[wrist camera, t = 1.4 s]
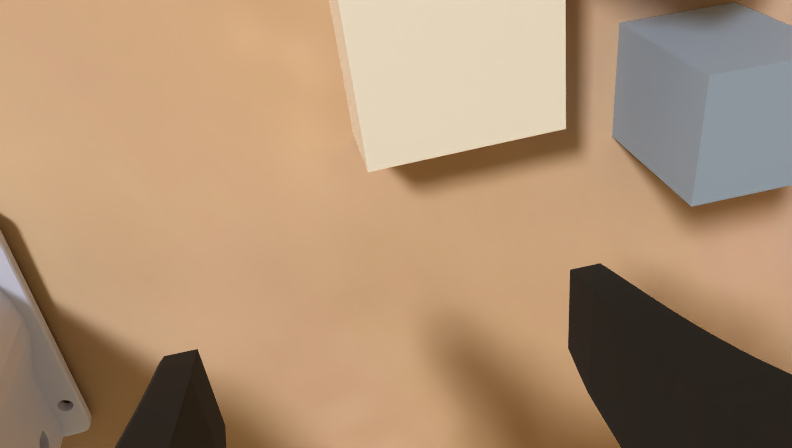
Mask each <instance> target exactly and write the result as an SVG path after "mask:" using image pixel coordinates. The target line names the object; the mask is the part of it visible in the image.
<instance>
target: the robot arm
mask: <svg viewBox="0 0 792 448" xmlns="http://www.w3.org/2000/svg"><path fill="white" fill-rule="evenodd" d="M568 349H569V351H570V353H571V356H572V358H573V360H574V362H575V365H576V367H577V369H578V372H579V374H580V376H581V378H582V380H583V383H584V385H585V387H586V389H587V391H588V393H589V395H590V397H591V398H592V400H593V402H594V403H595V405H596V407H597V408H598V410H599V412H600V413H601V415H602V417H603V418H604V420H605V422H606V423H607V425H608V427H609V428H610V430H611V431H612V433H613V435H614V436H615V438H616V440H617V441H618V443H619V444H620V446H621V448H792V375H791V374H789V373H787V372H785V371H783V370H781V369H778V368H776V367H774V366H772V365H770V364H768V363H766V362H763V361H761V360H759V359H757V358H755V357H753V356H751V355H749V354H747V353H745V352H743V351H741V350H739V349H738V348H736V347H734V346H732V345H730V344H728V343H727V342H725V341H723V340H721V339H719V338H718V337H716V336H714V335H712V334H710V333H709V332H707V331H705V330H703V329H702V328H700V327H698V326H697V325H695V324H693V323H692V322H690V321H688V320H687V319H685V318H683V317H682V316H680V315H679V314H677V313H675V312H674V311H672V310H671V309H669V308H667V307H666V306H664V305H663V304H661V303H660V302H658V301H656V300H655V299H653V298H652V297H650V296H649V295H647V294H646V293H644V292H643V291H641V290H640V289H638V288H637V287H635V286H634V285H632V284H631V283H629V282H628V281H626V280H625V279H623V278H622V277H620V276H619V275H617V274H616V273H614V272H613V271H611V270H610V269H608V268H607V267H605V266H603V265H602V264H595V265H591V266H586V267H581V268H576V269H572V270H570V300H569V338H568ZM62 400H68V401H71V403H65V402H62ZM91 420H92V417H91V413H90V411H89V409H88V407H87V405H86V403H85V401H84V399H83V397H82V395H81V393H80V391H79V389H78V387H77V385H76V383H75V381H74V379H73V377H72V375H71V373H70V371H69V369H68V367H67V365H66V362H65V360H64V358H63V356H62V354H61V352H60V350H59V348H58V346H57V344H56V342H55V340H54V338H53V336H52V334H51V332H50V330H49V328H48V326H47V324H46V322H45V320H44V318H43V316H42V314H41V312H40V310H39V308H38V305H37V303H36V301H35V299H34V297H33V295H32V293H31V291H30V289H29V287H28V285H27V283H26V281H25V279H24V277H23V275H22V273H21V271H20V269H19V267H18V265H17V263H16V261H15V259H14V257H13V255H12V253H11V250H10V248H9V246H8V244H7V242H6V240H5V238H4V236H3V234H2V232H1V230H0V448H61V445H62V441H63V437H67V436H71V435H75V434H80V433H83V432H85V431H87V430H88V429H89V427H90V425H91ZM115 448H226V435H225V424H224V421H223V418H222V416H221V413H220V410H219V407H218V405H217V402H216V399H215V396H214V393H213V391H212V388H211V385H210V382H209V380H208V377H207V374H206V371H205V369H204V366H203V363H202V360H201V358H200V355H199V352H198V349H196V350H191V351H187V352H182V353H177V354H173V355H168V356H164V357H163V359H162V360H161V361H160V363H159V365H158V367H157V369H156V371H155V373H154V375H153V377H152V379H151V381H150V383H149V385H148V387H147V389H146V391H145V393H144V395H143V397H142V399H141V401H140V403H139V405H138V407H137V409H136V411H135V412H134V414H133V416H132V418H131V420H130V422H129V423H128V425H127V427H126V429H125V431H124V432H123V434H122V436H121V438H120V439H119V441H118V443H117V445H116V447H115Z"/></svg>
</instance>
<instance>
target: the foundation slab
mask: <svg viewBox="0 0 792 448" xmlns="http://www.w3.org/2000/svg"><path fill="white" fill-rule="evenodd" d="M329 3H330V9H331V14H332V20H333V25H334V31H335V36H336V42H337V47H338V53H339V58H340V64H341V69H342V75H343V80H344V86H345V91H346V97H347V102H348V108H349V113H350V119H351V124H352V130H353V134H354V137H355V140H356V142H357V145H358V147H359V150H360V153H361V155H362V158H363V160H364V163H365V166H366V168H367V171H368V172H372V171H376V170H381V169H385V168H390V167H394V166H399V165H403V164H408V163H413V162H417V161H422V160H426V159H431V158H435V157H440V156H444V155H449V154H454V153H458V152H463V151H467V150H472V149H476V148H481V147H485V146H490V145H495V144H499V143H504V142H508V141H513V140H517V139H522V138H526V137H531V136H536V135H540V134H545V133H549V132H554V131H558V130H563V129H566V0H329Z"/></svg>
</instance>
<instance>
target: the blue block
mask: <svg viewBox="0 0 792 448" xmlns="http://www.w3.org/2000/svg"><path fill="white" fill-rule="evenodd" d="M612 137H613V138H615V139H616V140H617V141H618V142H619V143H620V144H621V145H622V146H624V147H625V148H626V149H627V150H628V151H629V152H630V153H631V154H633V155H634V156H635V157H636V158H637V159H638V160H639V161H640V162H642V163H643V164H644V165H645V166H646V167H647V168H648V169H649V170H651V171H652V172H653V173H654V174H655V175H656V176H657V177H658V178H660V179H661V180H662V181H663V182H664V183H665V184H666V185H667V186H669V187H670V188H671V189H672V190H673V191H674V192H675V193H676V194H678V195H679V196H680V197H681V198H682V199H683V200H684V201H685V202H687V203H688V204H689V205H690V206H691V207H692V206H697V205H702V204H706V203H711V202H716V201H720V200H725V199H730V198H734V197H739V196H744V195H748V194H753V193H758V192H762V191H767V190H772V189H776V188H781V187H786V186H791V185H792V26H791V25H788V24H786V23H784V22H781V21H779V20H776V19H774V18H772V17H769V16H767V15H764V14H762V13H760V12H757V11H755V10H752V9H750V8H748V7H745V6H743V5H740V4H738V3H736V2H734V3H729V4H723V5H717V6H712V7H706V8H700V9H695V10H689V11H683V12H678V13H672V14H666V15H661V16H655V17H650V18H644V19H638V20H633V21H627V22H621V23H620V24H619V40H618V55H617V71H616V86H615V102H614V117H613V133H612Z"/></svg>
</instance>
